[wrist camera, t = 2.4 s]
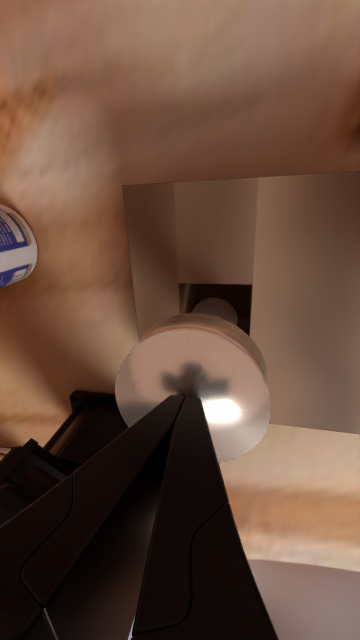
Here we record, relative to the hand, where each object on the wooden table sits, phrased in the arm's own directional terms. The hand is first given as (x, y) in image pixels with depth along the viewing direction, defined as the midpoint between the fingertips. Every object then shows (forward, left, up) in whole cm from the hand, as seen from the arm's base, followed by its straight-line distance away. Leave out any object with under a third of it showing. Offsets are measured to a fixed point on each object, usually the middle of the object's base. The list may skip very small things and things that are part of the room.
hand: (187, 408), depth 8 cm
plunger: (0, 0, -6) cm, 6 cm away
